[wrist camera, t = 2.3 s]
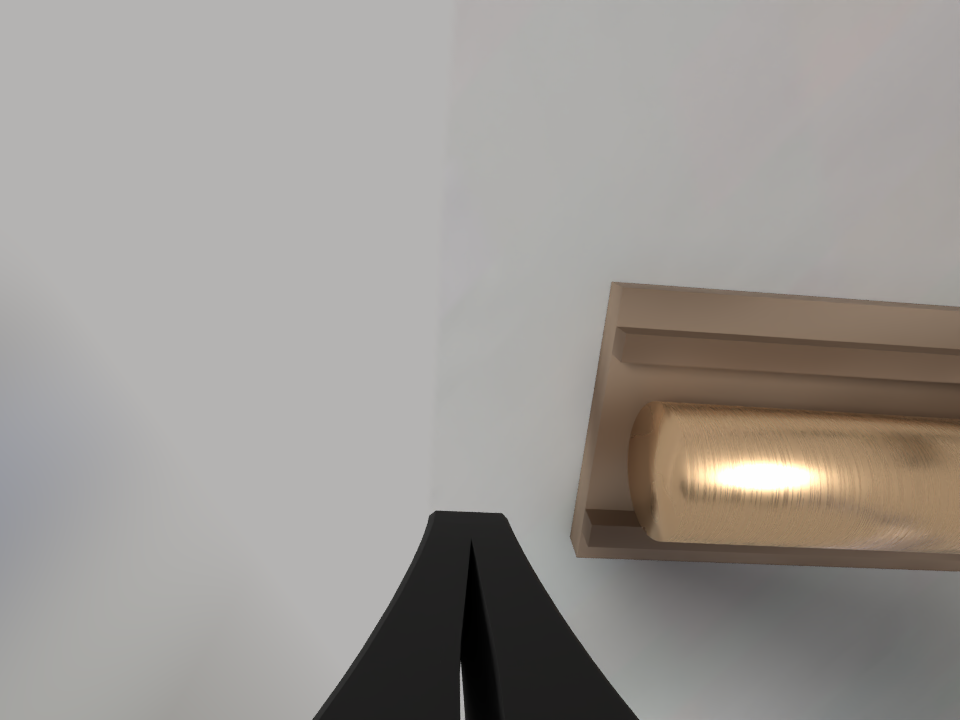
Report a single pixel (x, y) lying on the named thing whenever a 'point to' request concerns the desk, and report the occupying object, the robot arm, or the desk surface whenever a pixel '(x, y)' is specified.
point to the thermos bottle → (795, 478)
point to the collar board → (754, 394)
